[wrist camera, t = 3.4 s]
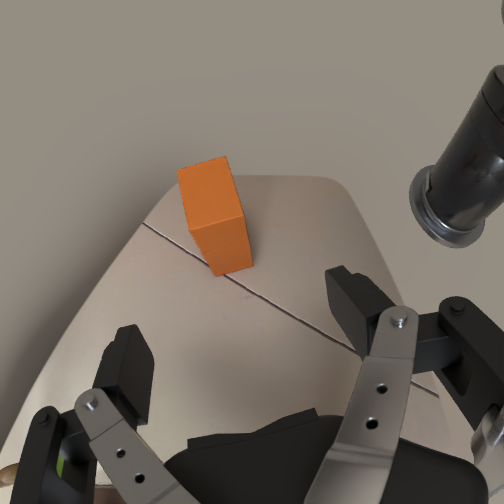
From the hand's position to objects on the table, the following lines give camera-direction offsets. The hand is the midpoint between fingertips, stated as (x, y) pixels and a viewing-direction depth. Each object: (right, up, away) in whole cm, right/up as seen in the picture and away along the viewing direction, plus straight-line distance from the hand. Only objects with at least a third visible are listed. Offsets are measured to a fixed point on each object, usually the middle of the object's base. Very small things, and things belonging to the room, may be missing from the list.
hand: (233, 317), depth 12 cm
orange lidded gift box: (-2, +3, +20) cm, 21 cm away
